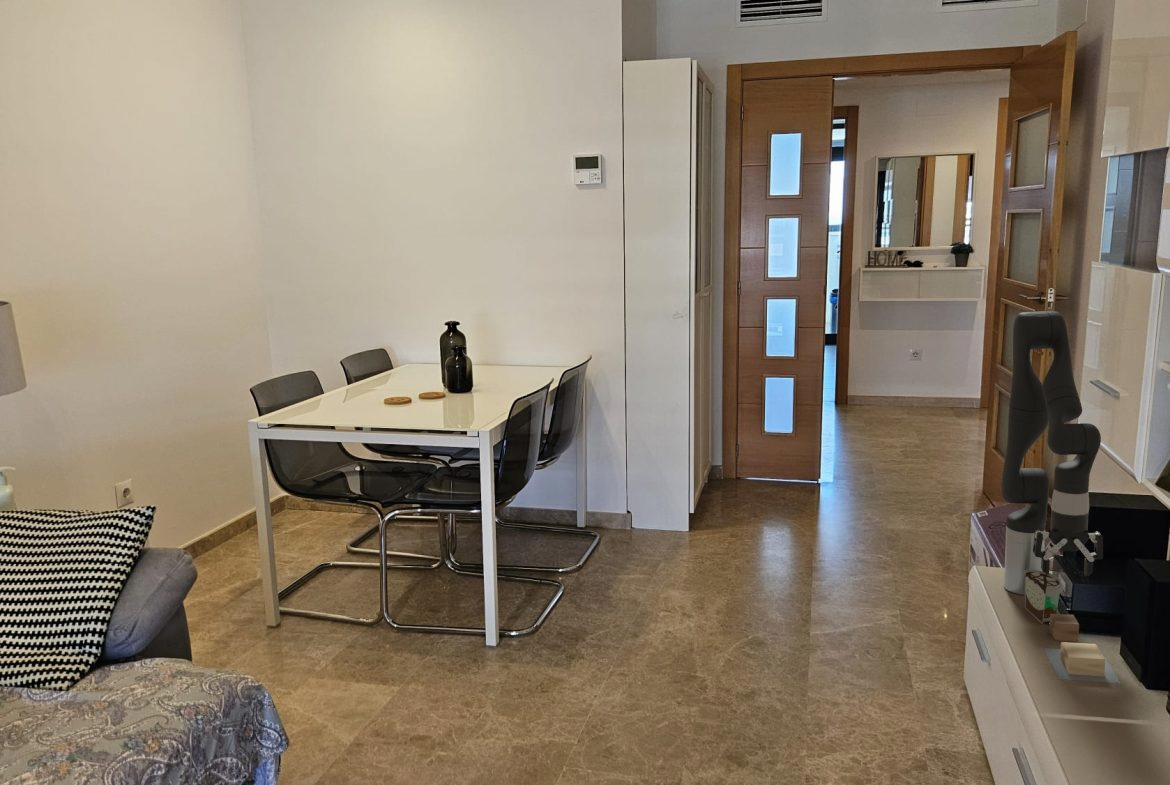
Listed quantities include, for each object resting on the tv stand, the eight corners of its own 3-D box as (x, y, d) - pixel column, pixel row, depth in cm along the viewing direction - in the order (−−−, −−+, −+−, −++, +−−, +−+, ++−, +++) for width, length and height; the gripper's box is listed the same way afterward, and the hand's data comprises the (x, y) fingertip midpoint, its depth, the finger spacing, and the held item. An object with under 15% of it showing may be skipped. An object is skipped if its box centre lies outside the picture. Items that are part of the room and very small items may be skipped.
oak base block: (1060, 658, 201) (1060, 642, 200) (1094, 660, 199) (1095, 643, 199) (1068, 674, 194) (1069, 657, 194) (1104, 676, 193) (1105, 659, 192)
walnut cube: (1049, 633, 214) (1050, 613, 213) (1072, 634, 213) (1073, 614, 212) (1054, 642, 209) (1055, 623, 208) (1077, 644, 208) (1079, 624, 207)
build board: (1042, 650, 206) (1042, 648, 206) (1100, 653, 203) (1100, 651, 203) (1058, 681, 193) (1058, 679, 193) (1120, 685, 190) (1121, 683, 190)
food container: (1071, 626, 217) (1073, 587, 215) (1045, 627, 217) (1047, 588, 215) (1046, 604, 229) (1048, 567, 227) (1022, 605, 229) (1023, 568, 227)
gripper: (1099, 503, 207) (1095, 569, 210) (1032, 502, 210) (1029, 566, 213) (1109, 514, 199) (1105, 582, 203) (1039, 513, 203) (1036, 579, 206)
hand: (1066, 574), depth 208 cm, fingers open, 8 cm apart
